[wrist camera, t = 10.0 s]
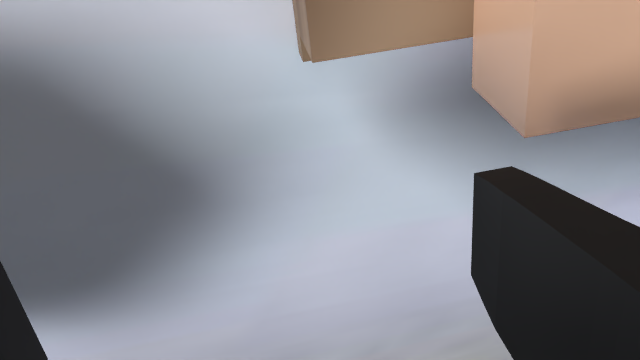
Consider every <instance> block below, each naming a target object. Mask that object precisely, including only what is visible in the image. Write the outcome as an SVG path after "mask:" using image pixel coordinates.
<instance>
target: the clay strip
mask: <svg viewBox="0 0 640 360" xmlns="http://www.w3.org/2000/svg"><path fill="white" fill-rule="evenodd" d="M472 88H473V89H474V90H475V91H476V92H478V93H479V94H480V95H481V96H482V97H483V98H484V99H485V100H486V101H487V102H488V103H489V104H490V105H491V106H492V107H493V108H494V109H495V110H496V111H497V112H498V113H499V114H500V115H501V116H502V117H503V118H504V119H505V120H506V121H507V122H508V123H509V124H510V125H511V126H512V127H513V128H515V129H516V130H517V131H518V132H519V133H520V134H521V135H522V136H523V137H524V138H527V137H533V136H538V135H544V134H550V133H555V132H561V131H566V130H572V129H578V128H583V127H589V126H594V125H600V124H606V123H611V122H617V121H622V120H628V119H634V118H639V117H640V0H474V22H473V60H472Z"/></svg>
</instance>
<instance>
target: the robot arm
mask: <svg viewBox="0 0 640 360" xmlns="http://www.w3.org/2000/svg"><path fill="white" fill-rule="evenodd" d="M471 276H472V278H473V280H474V283H475V285H476V287H477V290H478V292H479V294H480V297H481V299H482V301H483V304H484V306H485V308H486V310H487V312H488V314H489V317H490V319H491V321H492V323H493V325H494V327H495V329H496V331H497V333H498V334H499V336H500V338H501V339H502V341H503V343H504V344H505V346H506V348H507V349H508V351H509V353H510V354H511V356H512V358H513V359H514V360H640V227H638V226H636V225H634V224H632V223H629V222H627V221H625V220H623V219H621V218H619V217H617V216H615V215H613V214H611V213H608V212H606V211H604V210H602V209H600V208H598V207H596V206H594V205H592V204H590V203H588V202H586V201H584V200H582V199H580V198H578V197H576V196H574V195H572V194H570V193H568V192H566V191H564V190H562V189H560V188H558V187H556V186H554V185H552V184H550V183H547V182H545V181H543V180H541V179H539V178H537V177H535V176H533V175H531V174H528V173H526V172H524V171H522V170H519V169H517V168H514V167H512V166H511V167H506V168H500V169H495V170H489V171H484V172H479V173H474V196H473V228H472V260H471ZM0 360H48V358H47V356H46V354H45V352H44V350H43V348H42V346H41V344H40V342H39V340H38V338H37V336H36V334H35V332H34V329H33V327H32V325H31V323H30V321H29V319H28V317H27V315H26V313H25V311H24V309H23V307H22V305H21V303H20V301H19V299H18V297H17V294H16V292H15V290H14V288H13V286H12V284H11V282H10V280H9V278H8V276H7V274H6V272H5V270H4V268H3V266H2V264H1V262H0Z"/></svg>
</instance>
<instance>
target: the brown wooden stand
mask: <svg viewBox="0 0 640 360" xmlns="http://www.w3.org/2000/svg"><path fill="white" fill-rule="evenodd" d="M292 1H293V8H294V16H295V24H296V32H297V40H298V47H299V53H300V56H301V58H302V60H303V62H305V61H312V63H314V62H320V61H327V60H333V59H339V58H345V57H351V56H357V55H364V54H370V53H376V52H382V51H388V50H394V49H401V48H407V47H413V46H419V45H425V44H431V43H438V42H444V41H450V40H456V39H462V38H468V37H473V22H474V0H292Z"/></svg>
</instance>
